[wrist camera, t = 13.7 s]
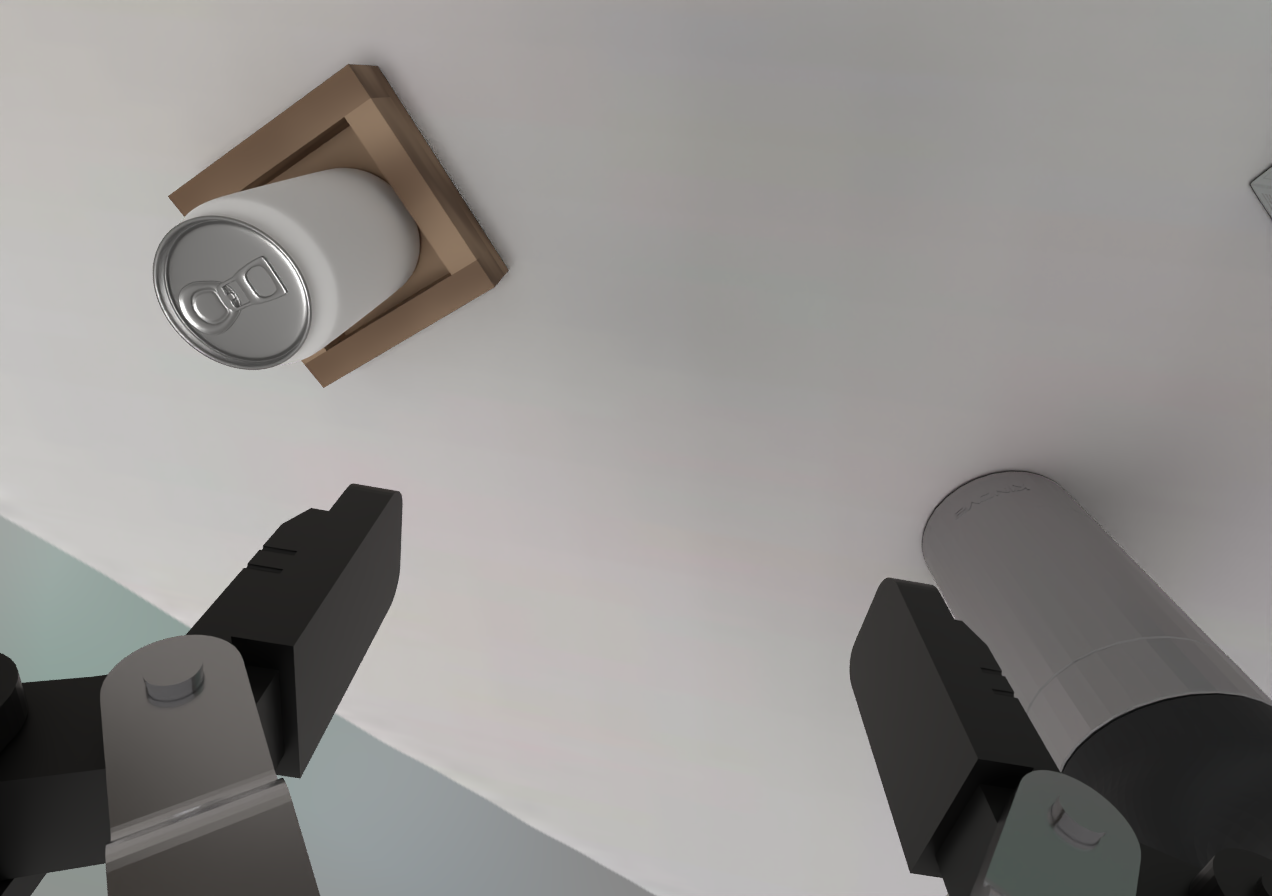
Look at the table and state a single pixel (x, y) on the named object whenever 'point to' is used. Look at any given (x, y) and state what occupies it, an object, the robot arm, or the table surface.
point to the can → (284, 266)
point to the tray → (398, 154)
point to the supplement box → (1264, 189)
